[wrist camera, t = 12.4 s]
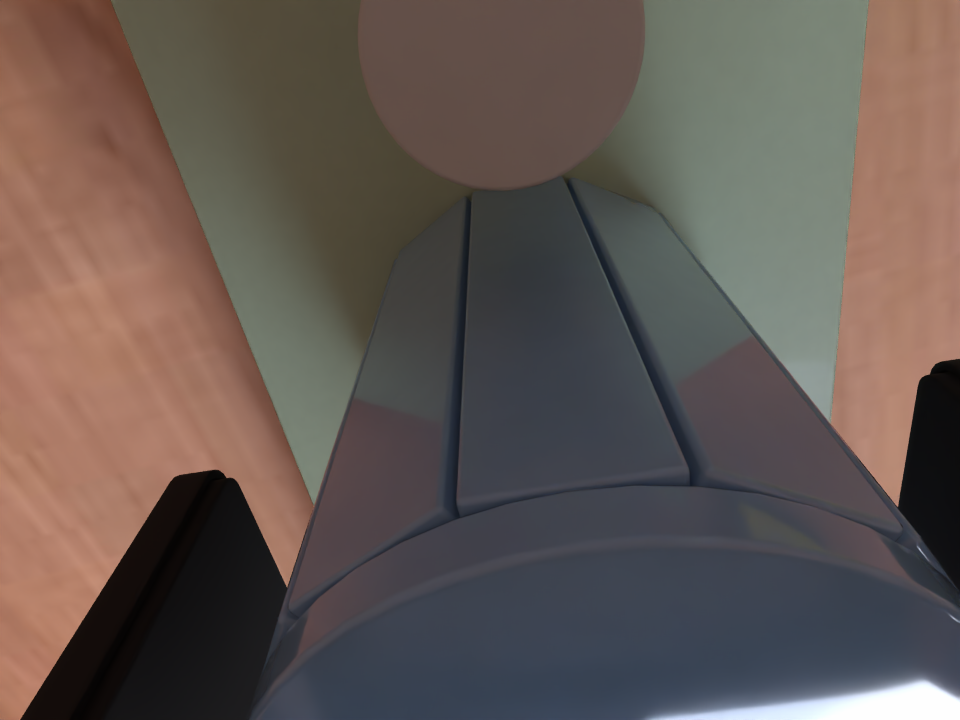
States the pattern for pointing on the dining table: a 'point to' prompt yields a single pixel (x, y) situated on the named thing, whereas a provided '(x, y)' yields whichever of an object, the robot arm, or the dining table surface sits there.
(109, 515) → the dining table surface
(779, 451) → the blue faceted cylinder
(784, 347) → the rack
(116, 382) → the dining table surface
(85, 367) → the dining table surface
